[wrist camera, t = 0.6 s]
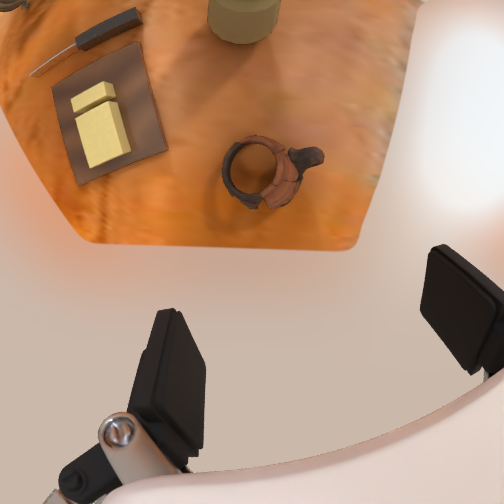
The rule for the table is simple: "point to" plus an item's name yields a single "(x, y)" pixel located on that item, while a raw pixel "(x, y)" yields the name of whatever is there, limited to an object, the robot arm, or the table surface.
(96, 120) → the butter
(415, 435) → the robot arm
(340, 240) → the table surface
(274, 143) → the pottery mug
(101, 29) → the knife
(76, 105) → the butter slice
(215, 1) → the squeeze bottle
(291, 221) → the table surface
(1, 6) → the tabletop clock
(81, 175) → the cutting board
